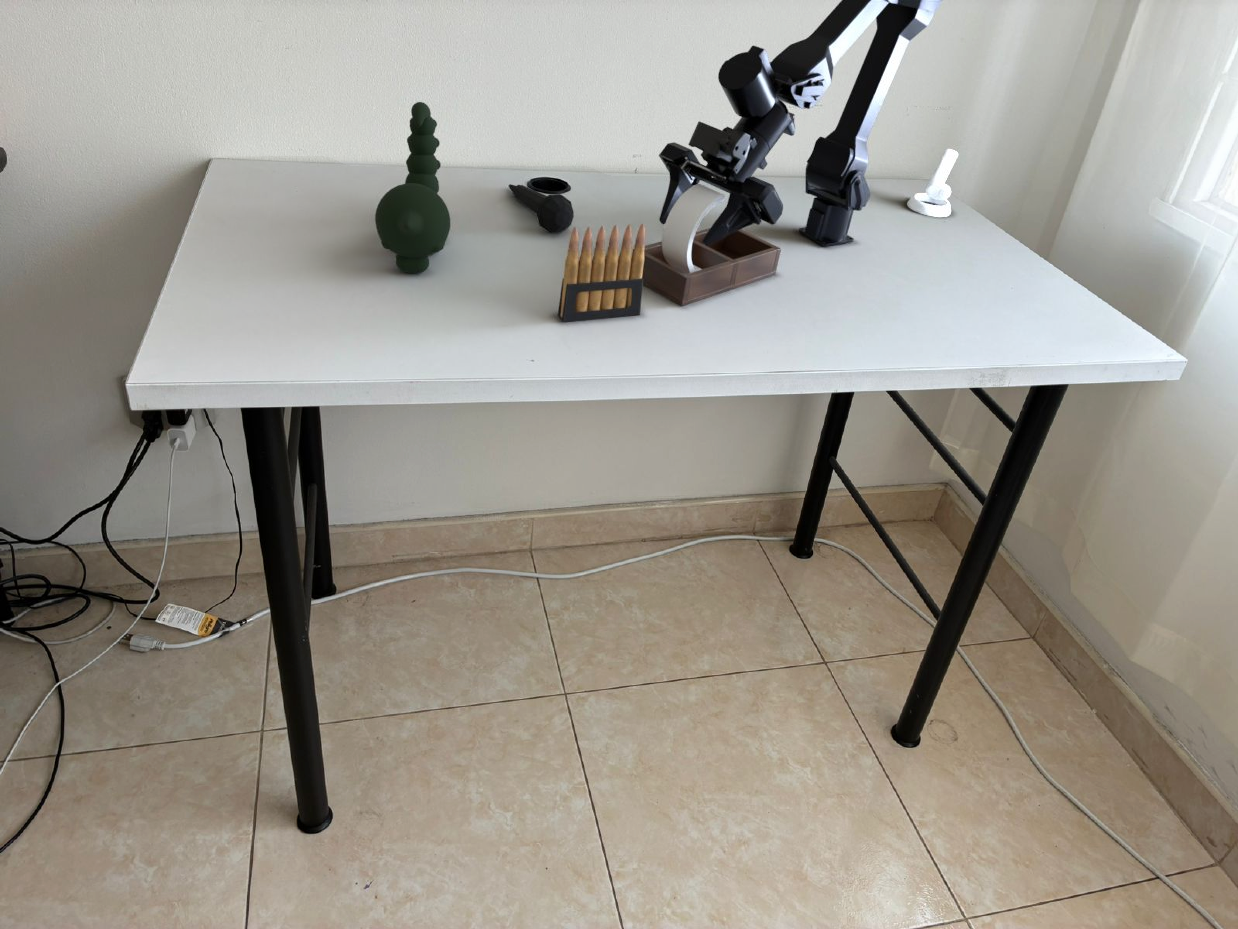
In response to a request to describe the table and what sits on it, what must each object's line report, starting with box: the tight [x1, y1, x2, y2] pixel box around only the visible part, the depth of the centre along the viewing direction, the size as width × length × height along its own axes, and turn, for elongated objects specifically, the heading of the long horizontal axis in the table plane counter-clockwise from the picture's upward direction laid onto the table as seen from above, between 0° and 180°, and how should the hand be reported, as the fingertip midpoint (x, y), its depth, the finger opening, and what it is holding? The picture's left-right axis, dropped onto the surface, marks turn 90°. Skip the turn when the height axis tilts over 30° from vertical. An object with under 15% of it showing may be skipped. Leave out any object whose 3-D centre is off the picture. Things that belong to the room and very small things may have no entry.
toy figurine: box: [374, 101, 451, 274], centre depth 124 cm, size 9×19×25 cm
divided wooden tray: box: [631, 227, 782, 307], centre depth 132 cm, size 20×10×4 cm, turn 133°
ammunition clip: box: [557, 223, 646, 323], centre depth 117 cm, size 11×2×12 cm, turn 113°
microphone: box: [508, 183, 575, 234], centre depth 144 cm, size 6×6×20 cm
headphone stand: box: [661, 183, 726, 274], centre depth 127 cm, size 5×6×12 cm
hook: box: [906, 148, 959, 218], centre depth 167 cm, size 8×12×7 cm
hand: (682, 233), depth 126 cm, fingers open, 8 cm apart
